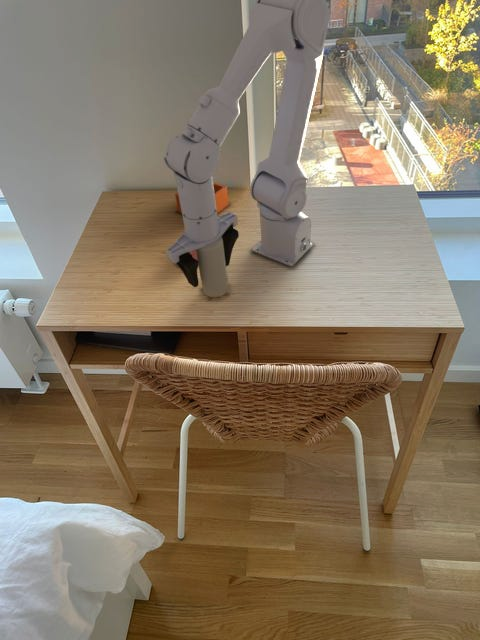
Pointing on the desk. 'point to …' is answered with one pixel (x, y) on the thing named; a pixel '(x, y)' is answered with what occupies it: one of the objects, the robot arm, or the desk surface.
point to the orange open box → (220, 197)
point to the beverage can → (213, 269)
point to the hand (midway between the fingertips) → (209, 273)
